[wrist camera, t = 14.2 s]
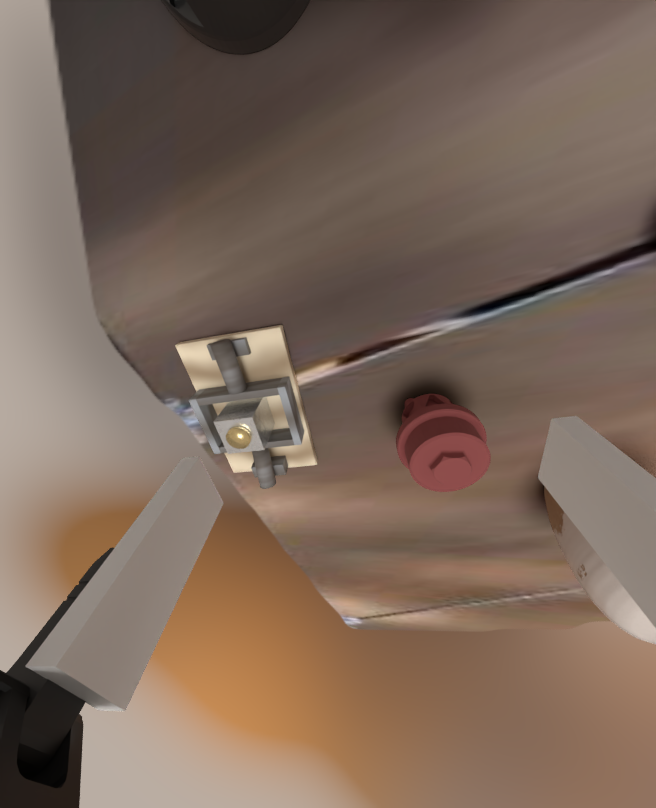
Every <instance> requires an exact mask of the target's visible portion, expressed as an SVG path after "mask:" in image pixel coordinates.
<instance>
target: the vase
mask: <svg viewBox="0 0 656 808" xmlns="http://www.w3.org/2000/svg"><path fill="white" fill-rule="evenodd" d="M544 496H545V502H546V507H547V511H548V516H549V520H550V523H551V526H552V529H553V532H554V534H555V537H556V539H557V541H558V544H559V546H560V548H561V550H562V552H563V554H564V556H565V558H566V560H567V562H568V564H569V566H570V568H571V570H572V572H573V574H574V576H575V577H576V579H577V580H578V582H579V584H580V585H581V587H582V588H583V590H584V591H585V592H586V594H587V595H588V596H589V598H590V599H591V600H592V601H593V602H594V604H595V605H596V606H597V607H598V608H599V609H600V610H601V611H602V612H603V613H604V614H605V615H606V616H607V617H608V618H609V619H610V620H611V621H612V622H613V623H614V624H616V625H617V626H618V627H619V628H621V629H622V630H624V631H625V632H627V633H629V634H630V635H632V636H633V637H635V638H638V639H640V640H643V641H646V642H650V643H653V644H656V628H655V627H654V626H653V624H652V623H651V622H650V620H649V619H648V618H647V617H646V615H645V614H644V613H643V611H642V610H641V609H640V608H639V606H638V605H637V604H636V603H635V601H634V600H633V599H632V597H631V596H630V595H629V594H628V592H627V591H626V590H625V589H624V587H623V586H622V585H621V583H620V582H619V581H618V580H617V578H616V577H615V576H614V574H613V573H612V572H611V571H610V569H609V568H608V567H607V566H606V564H605V563H604V562H603V560H602V559H601V558H600V557H599V555H598V554H597V553H596V551H595V550H594V549H593V548H592V546H591V545H590V544H589V543H588V541H587V540H586V539H585V537H584V536H583V535H582V534H581V532H580V531H579V530H578V529H577V527H576V526H575V525H574V523H573V522H572V521H571V520H570V518H569V517H568V516H567V514H566V513H565V512H564V511H563V509H562V508H561V507H560V506H559V504H558V503H557V502H556V500H555V499H554V498H553V497H552V495H551V494H550V493H549V491H548V490H547V489H546V488H545V487H544Z"/></svg>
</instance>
